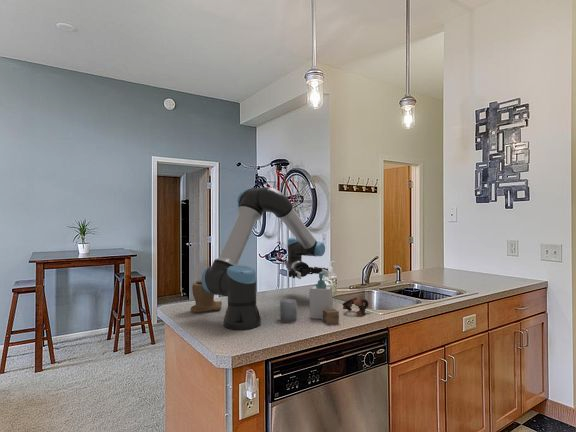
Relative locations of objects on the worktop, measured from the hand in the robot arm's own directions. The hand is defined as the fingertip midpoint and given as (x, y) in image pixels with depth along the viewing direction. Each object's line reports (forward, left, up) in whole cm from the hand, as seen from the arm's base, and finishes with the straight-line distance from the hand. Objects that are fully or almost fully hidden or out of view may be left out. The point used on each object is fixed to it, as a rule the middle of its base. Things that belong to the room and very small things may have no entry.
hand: (314, 275), depth 167 cm
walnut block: (-9, -18, -17) cm, 26 cm away
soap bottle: (-5, -9, -17) cm, 19 cm away
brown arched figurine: (+10, -17, -17) cm, 26 cm away
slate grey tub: (-19, -3, -17) cm, 25 cm away
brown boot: (-37, +35, -17) cm, 53 cm away
